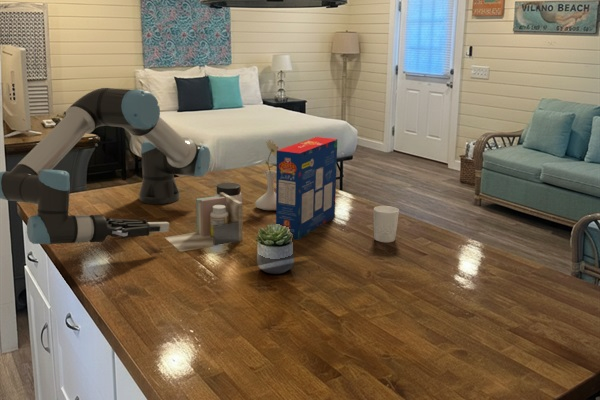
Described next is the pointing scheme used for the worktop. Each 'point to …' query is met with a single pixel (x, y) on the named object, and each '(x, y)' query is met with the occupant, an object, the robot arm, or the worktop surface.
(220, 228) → the bookend
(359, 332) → the worktop surface
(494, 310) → the worktop surface
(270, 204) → the flower in vase
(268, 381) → the worktop surface
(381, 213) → the white cup
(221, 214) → the supplement bottle
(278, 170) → the pasta box
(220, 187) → the jar
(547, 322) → the worktop surface
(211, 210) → the books
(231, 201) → the shelf
